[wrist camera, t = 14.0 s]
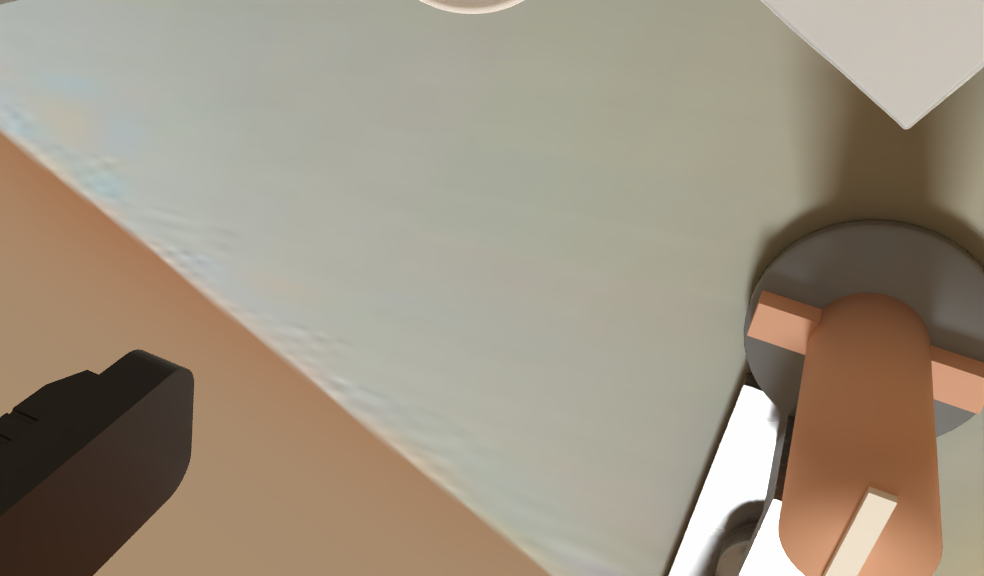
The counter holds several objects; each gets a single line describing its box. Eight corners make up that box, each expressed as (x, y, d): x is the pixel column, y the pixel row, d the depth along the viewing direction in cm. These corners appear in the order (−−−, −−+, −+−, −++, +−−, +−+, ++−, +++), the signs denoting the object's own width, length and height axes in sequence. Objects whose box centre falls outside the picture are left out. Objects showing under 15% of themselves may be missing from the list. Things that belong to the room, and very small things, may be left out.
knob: (774, 259, 37) (729, 432, 27) (1011, 335, 35) (1057, 553, 25) (739, 349, 40) (686, 540, 30) (960, 426, 38) (983, 658, 28)
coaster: (718, 382, 42) (714, 396, 41) (792, 187, 37) (789, 198, 36) (943, 462, 40) (944, 479, 39) (1055, 267, 35) (1059, 281, 34)
